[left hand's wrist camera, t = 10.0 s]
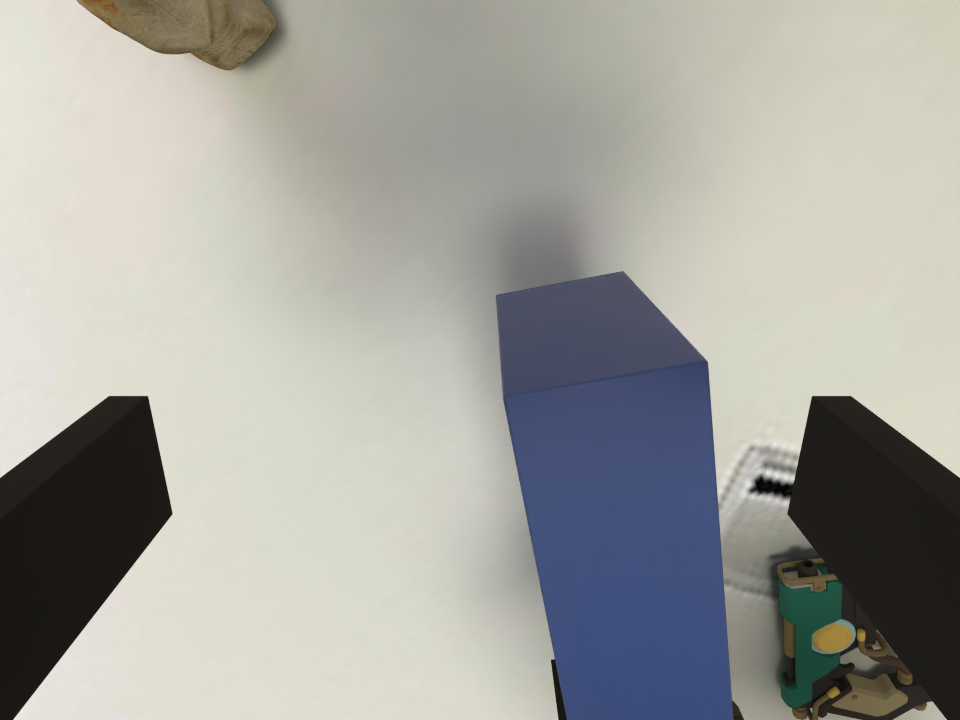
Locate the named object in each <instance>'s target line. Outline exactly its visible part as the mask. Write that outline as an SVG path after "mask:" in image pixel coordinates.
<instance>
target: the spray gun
mask: <svg viewBox="0 0 960 720" xmlns="http://www.w3.org/2000/svg"><path fill="white" fill-rule="evenodd" d="M822 563H825V562H824V560H823V559H822V558H815V559H807V560H799V561H791V562H783V563H780V564H779V565H778V566H777V574H778V576H779V579H778V587H779V613H780V615H781V616H782V617H783V618H784V652H785V654H786V656H787V658H788V670H785V671H783V672H782V673H781V696H782V699H783V700H784V702H785V703H786V704H787V705H788V706H789V707H791V708H792V712H793V715H794V716H795V717H796V718H797V719H801V720H803V719H806V718H807V715H808V717H809V720H818V716H819V717H821V718H823V717H825V716H826V715H827V712H828V713H832V714H837V715H842V716H847V717H851V718H856V719H861V720H893V719H894V718H896V717H898V716H900V715H902V714H903V713H905V712H907V711H909V710H910V709H912V708H915V709H916V710H919V711H922V710H925V708H926V705H927V702H930V701H932V700H931V698H930V697H929V696H928V695H927V693H926V692H925V691H924V689H923V688H922V687H921V686H920V684H919V683H918V682H917V680H916V679H915V678H914V677H913V675H912V674H911V673H910V671H909V670H908V669H907V668H906V666H905V665H904V664H903V662H902V661H901V660H900V658H897V657H892V656H887V655H886V654H888V652H889V648H888V646H887V644H886V642H885V640H884V639H883V637H882V636H881V635H880V634H879V633H878V632H877V631H876V630H877V629H876V628H875V626H874V625H873V624H872V622H871V621H870V620H869V619H868V617H867V616H866V615H865V613H864V612H863V611H862V609H861V608H860V607H859V606H858V604H857V603H856V602H855V600H854V599H853V598H852V597H851V595H850V594H849V593H848V591H847V590H846V589H845V588H844V586H843V585H842V584H841V582H840V581H839V580H838V579H837V577H836V576H835V575H834V573H833V572H832V571H831V570H829V569H828V568H826V567H825V566H823V565H818V566H817V565H816V564H822ZM792 567H798V571H793V572H785V573H783V572H782V571H781V570H782V569H785V568H792ZM876 640H877V641H878V642H879V644H880V646H881V649H879V650H874V649H873V648H872V644H875V643H876ZM857 647H858V648H859V650H860V652H861V653H863V654H864V655H867V656H868V657H870V658H871V659H873V660H874V661H877V662H880V663H883V664H886V665H891V666H897V673H890V674H881V675H879V676H878V677H877V678H875V679H873V680H872V679H868V678H865V677H861V676H858V675H854V674H851V673H849V672H851V671H852V670H853V669H854V668H855V665H854V664H853V663H851V662H850V663H848V664H840V663H839V662H840V656H841V655H843V654H845V653H847V652H849V651H851V650H853V649H855V648H857ZM810 708H813V712H811V710H810Z"/></svg>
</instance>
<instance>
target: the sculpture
mask: <svg viewBox="0 0 960 720" xmlns="http://www.w3.org/2000/svg"><path fill="white" fill-rule="evenodd" d="M77 2H78V3H79V4H81V5H82V6H83V7H84V8H86V9H87V10H88V11H89V12H91V13H92V14H93V15H95V16H96V17H98V18H99V19H101V20H102V21H103V22H105V23H106V24H107V25H109V26H110V27H111V28H113V29H115V30H117V31H119V32H121V33H123V34H125V35H127V36H128V37H130V38H131V39H133V40H135V41H137V42H139V43H140V44H142V45H144V46H145V47H147V48H149V49H151V50H153V51H155V52H159V53H163V54H184V53H191V54H193V55H194V56H196V57H197V58H199V59H201V60H203V61H204V62H207V63H209V64H211V65H213V66H215V67H218V68H221V69H225V70H233V69H235V68H236V67H238V66H239V65H241V64H242V63H243V62H244V61H245V60H247V59H248V58H249V57H250V56H251V55H252V54H253V53H254V52H256V51H257V50H258V49H259V48H260V47H261V45H262V44H263V43H264V42H265V41H266V40H267V38H268V37H269V35H270V33H271V32H272V31H273V30H274V29H275V27H276V26H277V21H276V19H275V17H274V16H273V14H272V12H271V11H270V9H268V8H267V6H266V5H265V4H264V2H263V0H77Z"/></svg>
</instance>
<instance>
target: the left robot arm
mask: <svg viewBox="0 0 960 720" xmlns="http://www.w3.org/2000/svg"><path fill="white" fill-rule="evenodd" d="M171 515H172V509H171V504H170V499H169V495H168V490H167V485H166V480H165V476H164V471H163V466H162V461H161V456H160V452H159V447H158V442H157V437H156V433H155V428H154V423H153V418H152V413H151V409H150V404H149V399H148V396H109V397H107V398H106V399H105V400H103V401H102V402H101V403H99V404H98V405H97V406H95V407H94V408H93V409H91V410H90V411H89V412H87V413H86V414H85V415H83V416H82V417H81V418H79V419H78V420H77V421H75V422H74V423H73V424H71V425H70V426H69V427H67V428H66V429H65V430H63V431H62V432H61V433H59V434H58V435H57V436H55V437H54V438H53V439H52V440H50V441H49V442H48V443H46V444H45V445H44V446H42V447H41V448H40V449H38V450H37V451H36V452H34V453H33V454H32V455H30V456H29V457H28V458H26V459H25V460H24V461H22V462H21V463H20V464H18V465H17V466H16V467H14V468H13V469H12V470H10V471H9V472H8V473H6V474H5V475H4V476H2V477H1V478H0V720H13V719H14V718H15V717H16V715H17V714H18V713H19V711H20V710H21V709H22V707H23V706H24V705H25V704H26V702H27V701H28V700H29V698H30V697H31V696H32V695H33V693H34V692H35V691H36V689H37V688H38V687H39V686H40V684H41V683H42V682H43V680H44V679H45V678H46V677H47V675H48V674H49V673H50V671H51V670H52V669H53V668H54V666H55V665H56V664H57V662H58V661H59V660H60V658H61V657H62V656H63V655H64V653H65V652H66V651H67V649H68V648H69V647H70V646H71V644H72V643H73V642H74V640H75V639H76V638H77V637H78V635H79V634H80V633H81V631H82V630H83V629H84V628H85V626H86V625H87V624H88V622H89V621H90V620H91V619H92V617H93V616H94V615H95V613H96V612H97V611H98V609H99V608H100V607H101V606H102V604H103V603H104V602H105V600H106V599H107V598H108V597H109V595H110V594H111V593H112V591H113V590H114V589H115V588H116V586H117V585H118V584H119V582H120V581H121V580H122V579H123V577H124V576H125V575H126V573H127V572H128V571H129V570H130V568H131V567H132V566H133V564H134V563H135V562H136V560H137V559H138V558H139V557H140V555H141V554H142V553H143V551H144V550H145V549H146V548H147V546H148V545H149V544H150V542H151V541H152V540H153V539H154V537H155V536H156V535H157V533H158V532H159V531H160V530H161V528H162V527H163V526H164V524H165V523H166V522H167V521H168V519H169V518H170V517H171ZM788 515H789V517H790V518H791V519H792V521H793V522H794V523H795V524H796V526H797V527H798V528H799V530H800V531H801V532H802V533H803V535H804V536H805V537H806V539H807V540H808V541H809V542H810V544H811V545H812V546H813V548H814V549H815V550H816V551H817V553H818V554H819V555H820V557H821V558H822V559H823V560H824V562H825V563H826V564H827V566H828V567H829V568H830V570H831V571H832V572H833V573H834V575H835V576H836V577H837V579H838V580H839V581H840V582H841V584H842V585H843V586H844V588H845V589H846V590H847V591H848V593H849V594H850V595H851V597H852V598H853V599H854V600H855V602H856V603H857V604H858V606H859V607H860V608H861V609H862V611H863V612H864V613H865V615H866V616H867V617H868V619H869V620H870V621H871V622H872V624H873V625H874V626H875V628H876V629H877V630H878V631H879V633H880V634H881V635H882V637H883V638H884V639H885V640H886V642H887V643H888V644H889V646H890V647H891V648H892V649H893V651H894V652H895V653H896V655H897V656H898V657H899V658H900V660H901V661H902V662H903V664H904V665H905V666H906V668H907V669H908V670H909V671H910V673H911V674H912V675H913V677H914V678H915V679H916V680H917V682H918V683H919V684H920V686H921V687H922V688H923V689H924V691H925V692H926V693H927V695H928V696H929V697H930V698H931V700H932V701H933V702H934V704H935V705H936V706H937V707H938V709H939V710H940V711H941V713H942V714H943V715H944V717H945V718H946V719H947V720H960V478H959V477H958V476H956V475H955V474H954V473H952V472H951V471H950V470H948V469H947V468H946V467H944V466H943V465H942V464H940V463H939V462H938V461H936V460H935V459H934V458H932V457H931V456H930V455H928V454H927V453H926V452H924V451H923V450H922V449H920V448H919V447H918V446H916V445H915V444H914V443H912V442H911V441H910V440H908V439H907V438H906V437H905V436H903V435H902V434H901V433H899V432H898V431H897V430H895V429H894V428H893V427H891V426H890V425H889V424H887V423H886V422H885V421H883V420H882V419H881V418H879V417H878V416H877V415H875V414H874V413H873V412H871V411H870V410H869V409H867V408H866V407H865V406H863V405H862V404H861V403H859V402H858V401H857V400H855V399H854V398H853V397H851V396H812V399H811V404H810V409H809V413H808V418H807V423H806V428H805V433H804V437H803V442H802V447H801V452H800V456H799V461H798V466H797V471H796V476H795V480H794V485H793V490H792V495H791V499H790V504H789V509H788Z"/></svg>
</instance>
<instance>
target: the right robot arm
mask: <svg viewBox="0 0 960 720" xmlns="http://www.w3.org/2000/svg"><path fill="white" fill-rule="evenodd" d="M551 664H552V672H553V679H554V687H555V695H556V703H557V711H558V719H559V720H567V717H566V712H565V707H564V702H563V697H562V692H561V686H560V681H559V676H558V671H557V666H556V661H555V659H554V660H551ZM732 709H733V720H744V719H743V717H742V714H741V712H740V710H739V707H738V706H737V705H736V704H735V703H734V702H733V701H732Z"/></svg>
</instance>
